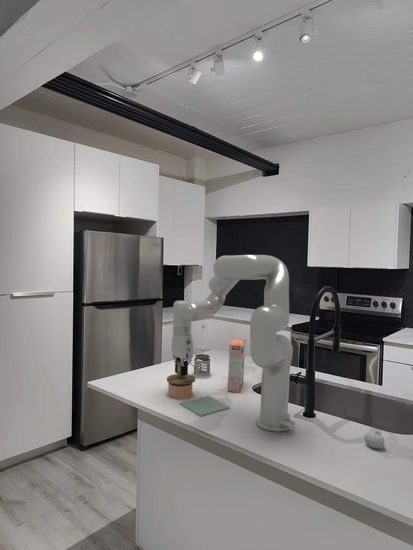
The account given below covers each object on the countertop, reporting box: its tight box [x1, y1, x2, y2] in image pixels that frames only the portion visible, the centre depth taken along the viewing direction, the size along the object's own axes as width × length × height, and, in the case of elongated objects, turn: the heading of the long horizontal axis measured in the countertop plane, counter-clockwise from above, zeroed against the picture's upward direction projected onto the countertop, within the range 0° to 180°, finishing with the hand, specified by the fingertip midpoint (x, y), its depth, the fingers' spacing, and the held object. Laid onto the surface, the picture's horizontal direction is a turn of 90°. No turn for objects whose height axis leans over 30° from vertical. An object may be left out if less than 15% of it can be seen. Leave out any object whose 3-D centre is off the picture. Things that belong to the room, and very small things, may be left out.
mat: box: [179, 395, 231, 417], centre depth 150 cm, size 14×14×1 cm
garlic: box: [364, 430, 385, 450], centre depth 121 cm, size 6×5×5 cm
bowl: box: [167, 382, 193, 400], centre depth 162 cm, size 10×10×5 cm
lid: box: [166, 360, 197, 385], centre depth 161 cm, size 12×12×8 cm
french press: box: [189, 324, 213, 380], centre depth 187 cm, size 10×12×25 cm
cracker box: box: [227, 338, 246, 394], centre depth 172 cm, size 14×6×21 cm, turn 168°
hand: (181, 373), depth 161 cm, fingers closed on lid, 3 cm apart
